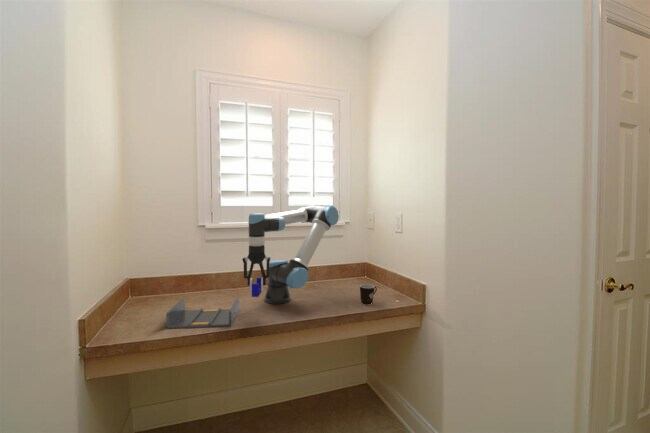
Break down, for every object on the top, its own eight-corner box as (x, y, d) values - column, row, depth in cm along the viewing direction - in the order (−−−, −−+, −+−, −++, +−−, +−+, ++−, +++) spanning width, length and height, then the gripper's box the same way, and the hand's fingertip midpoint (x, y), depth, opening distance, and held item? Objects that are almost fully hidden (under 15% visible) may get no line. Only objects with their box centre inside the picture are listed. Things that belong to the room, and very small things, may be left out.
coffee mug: (362, 306, 153) (362, 288, 153) (357, 300, 162) (357, 284, 161) (381, 305, 156) (382, 287, 155) (375, 299, 164) (376, 283, 164)
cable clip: (254, 288, 141) (254, 277, 140) (263, 288, 141) (263, 277, 140) (248, 296, 129) (248, 284, 128) (258, 296, 129) (258, 284, 128)
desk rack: (238, 310, 143) (239, 297, 143) (231, 326, 126) (231, 311, 125) (182, 312, 140) (182, 298, 140) (166, 328, 122) (166, 313, 122)
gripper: (275, 243, 139) (275, 288, 140) (239, 243, 137) (239, 289, 138) (274, 246, 131) (274, 293, 133) (236, 246, 129) (236, 294, 131)
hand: (256, 291), depth 135 cm, fingers closed on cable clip, 5 cm apart
